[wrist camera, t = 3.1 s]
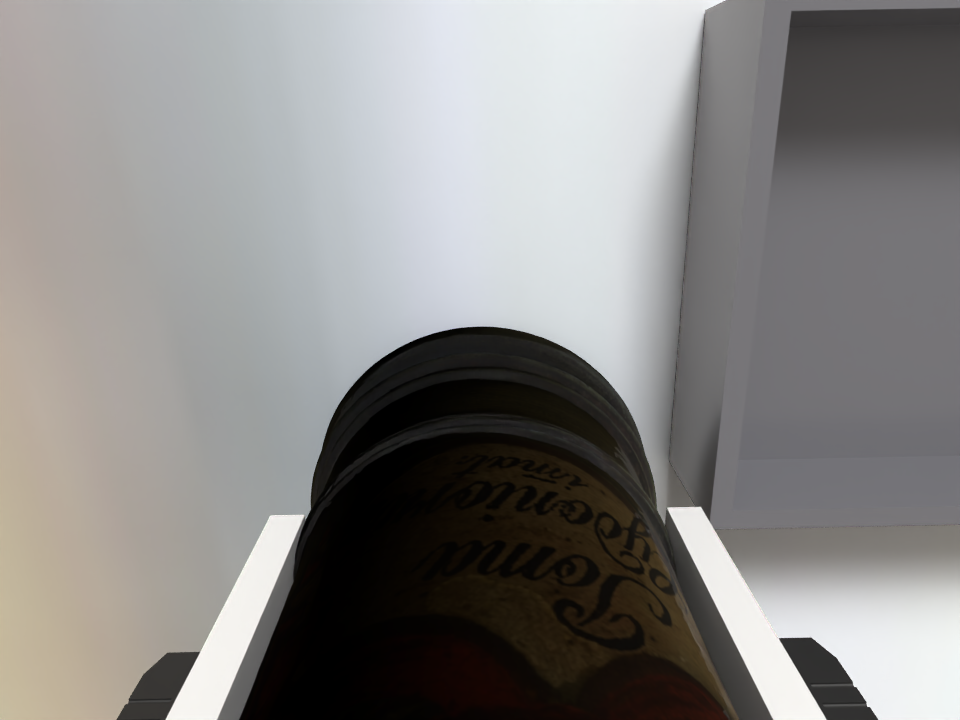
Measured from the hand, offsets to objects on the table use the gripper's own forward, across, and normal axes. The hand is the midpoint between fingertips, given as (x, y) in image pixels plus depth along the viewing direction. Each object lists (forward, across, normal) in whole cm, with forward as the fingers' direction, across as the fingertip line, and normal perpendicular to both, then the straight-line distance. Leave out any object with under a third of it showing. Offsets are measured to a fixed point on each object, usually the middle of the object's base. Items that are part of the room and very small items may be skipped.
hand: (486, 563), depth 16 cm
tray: (+4, +11, +6) cm, 13 cm away
